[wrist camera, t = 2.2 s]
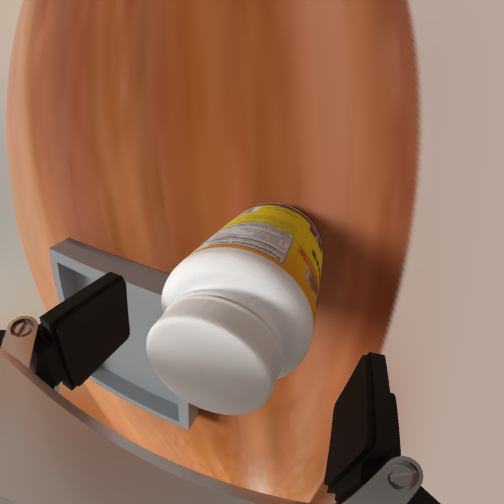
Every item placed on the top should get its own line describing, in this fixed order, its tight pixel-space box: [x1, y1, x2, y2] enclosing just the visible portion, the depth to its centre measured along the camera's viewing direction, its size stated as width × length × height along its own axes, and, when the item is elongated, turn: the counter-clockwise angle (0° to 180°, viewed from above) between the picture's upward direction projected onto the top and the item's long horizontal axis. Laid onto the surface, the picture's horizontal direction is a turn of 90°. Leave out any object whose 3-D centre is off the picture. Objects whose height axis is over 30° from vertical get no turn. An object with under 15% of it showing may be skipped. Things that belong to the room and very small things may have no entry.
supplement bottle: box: [146, 203, 323, 415], centre depth 12 cm, size 6×6×10 cm
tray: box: [49, 238, 199, 430], centre depth 22 cm, size 16×14×2 cm
